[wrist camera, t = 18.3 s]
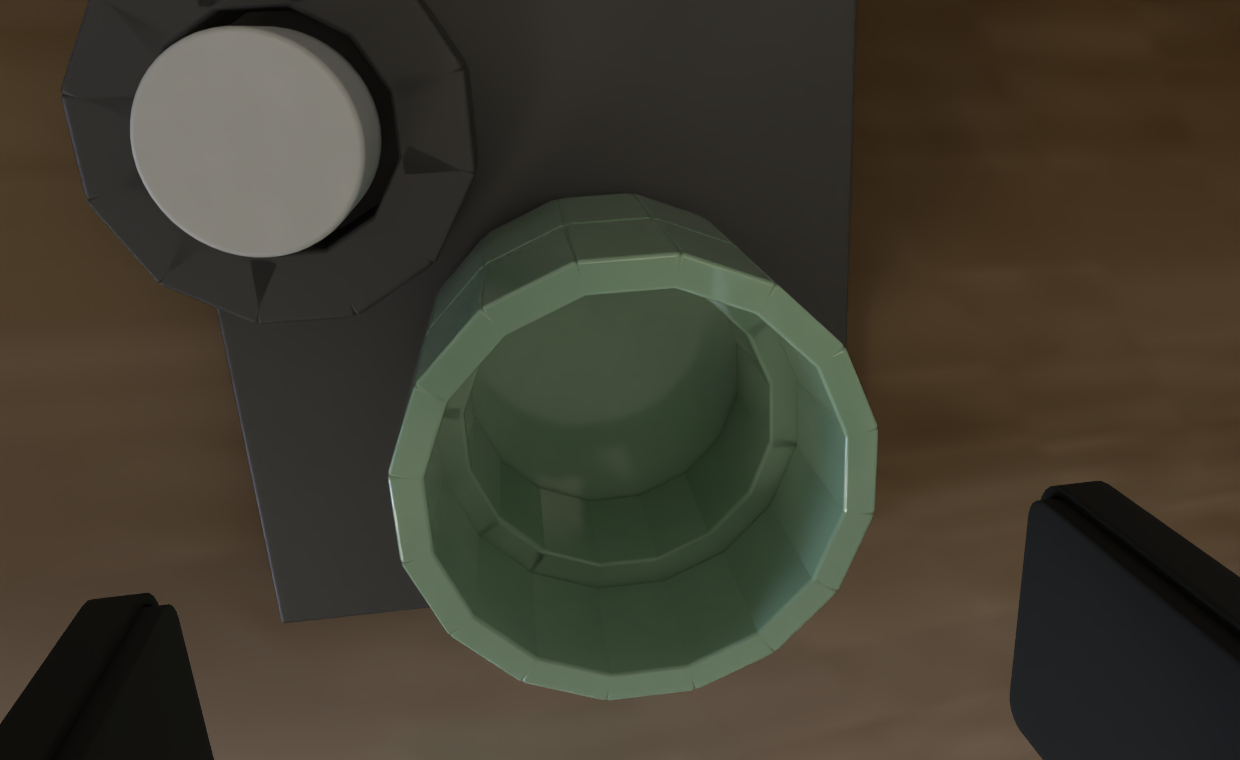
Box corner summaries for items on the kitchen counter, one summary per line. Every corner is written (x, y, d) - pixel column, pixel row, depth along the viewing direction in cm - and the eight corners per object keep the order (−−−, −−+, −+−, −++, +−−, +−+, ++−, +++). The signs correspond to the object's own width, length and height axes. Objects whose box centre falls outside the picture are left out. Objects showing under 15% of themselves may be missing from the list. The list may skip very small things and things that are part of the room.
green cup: (444, 543, 20) (424, 724, 15) (399, 204, 17) (356, 278, 12) (777, 509, 20) (869, 670, 15) (778, 177, 18) (888, 235, 13)
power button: (197, 238, 16) (156, 267, 14) (154, 32, 15) (103, 32, 13) (394, 223, 16) (380, 249, 14) (366, 20, 15) (347, 19, 13)
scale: (244, 598, 21) (203, 686, 18) (99, -53, 16) (16, -71, 14) (823, 536, 22) (870, 610, 19) (838, -89, 18) (902, -111, 15)
